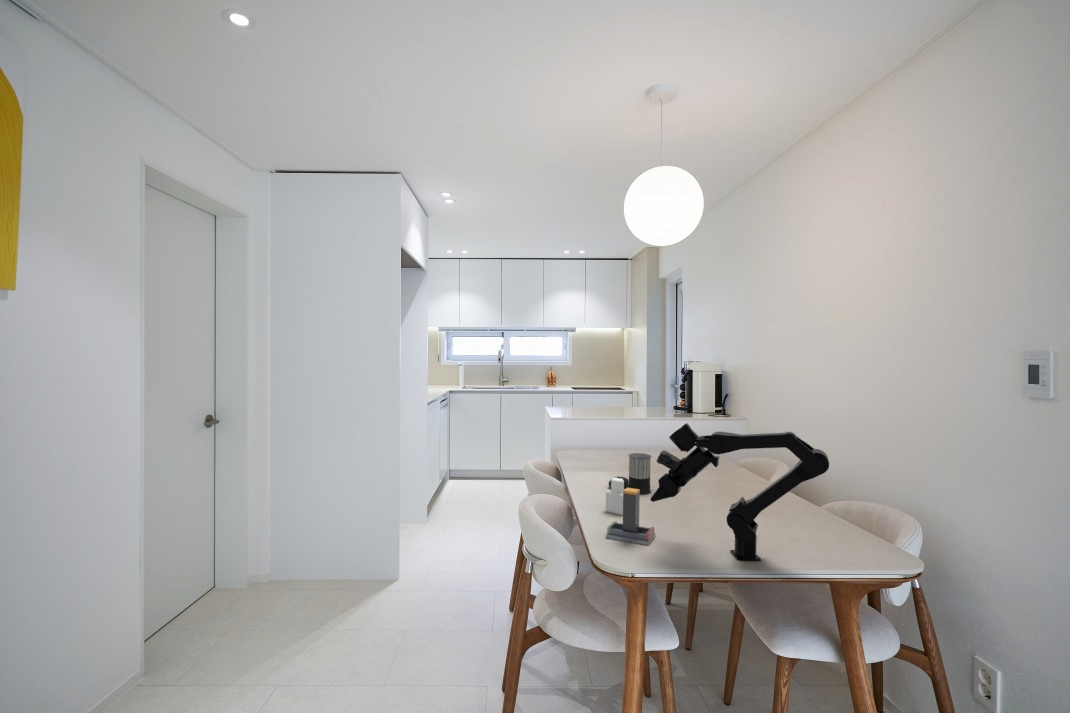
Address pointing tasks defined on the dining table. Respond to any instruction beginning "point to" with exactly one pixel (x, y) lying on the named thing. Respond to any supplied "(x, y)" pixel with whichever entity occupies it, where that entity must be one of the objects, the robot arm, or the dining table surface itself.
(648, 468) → the milk frother
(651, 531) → the grey rectangular tray
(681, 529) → the dining table surface
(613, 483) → the medicine bottle
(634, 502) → the block
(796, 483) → the robot arm
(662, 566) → the dining table surface
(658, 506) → the dining table surface
